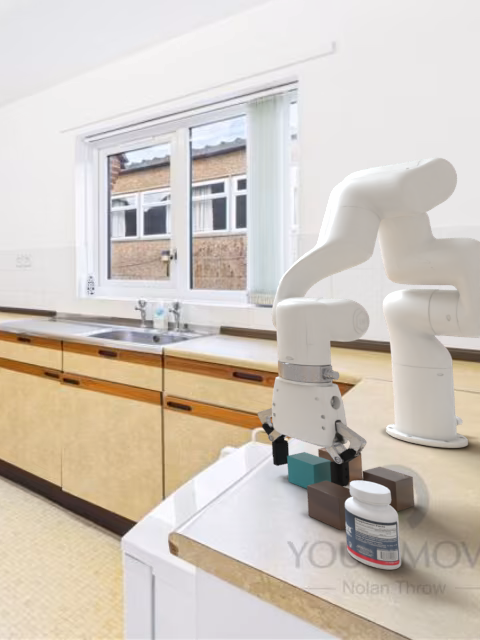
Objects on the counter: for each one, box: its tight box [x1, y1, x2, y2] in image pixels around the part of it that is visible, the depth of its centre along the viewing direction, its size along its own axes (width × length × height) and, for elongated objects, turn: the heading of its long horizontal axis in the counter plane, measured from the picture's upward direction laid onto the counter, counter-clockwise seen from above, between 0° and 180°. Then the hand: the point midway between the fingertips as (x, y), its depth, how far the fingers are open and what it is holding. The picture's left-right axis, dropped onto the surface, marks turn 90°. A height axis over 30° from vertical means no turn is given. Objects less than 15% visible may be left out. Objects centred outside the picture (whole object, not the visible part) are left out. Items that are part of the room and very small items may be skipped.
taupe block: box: [362, 466, 415, 512], centre depth 75 cm, size 4×4×4 cm
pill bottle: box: [345, 480, 402, 571], centre depth 60 cm, size 5×5×9 cm
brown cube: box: [306, 481, 352, 531], centre depth 70 cm, size 4×4×4 cm
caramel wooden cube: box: [317, 447, 363, 484], centre depth 84 cm, size 4×4×4 cm
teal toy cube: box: [287, 451, 331, 490], centre depth 81 cm, size 4×4×4 cm
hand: (308, 474), depth 81 cm, fingers open, 9 cm apart
